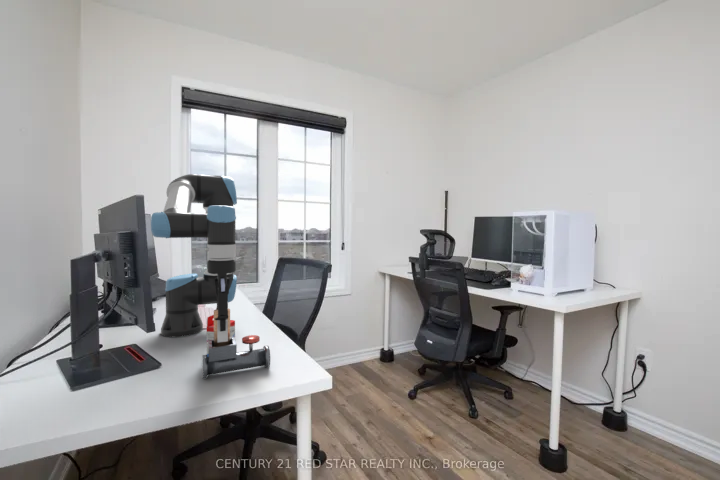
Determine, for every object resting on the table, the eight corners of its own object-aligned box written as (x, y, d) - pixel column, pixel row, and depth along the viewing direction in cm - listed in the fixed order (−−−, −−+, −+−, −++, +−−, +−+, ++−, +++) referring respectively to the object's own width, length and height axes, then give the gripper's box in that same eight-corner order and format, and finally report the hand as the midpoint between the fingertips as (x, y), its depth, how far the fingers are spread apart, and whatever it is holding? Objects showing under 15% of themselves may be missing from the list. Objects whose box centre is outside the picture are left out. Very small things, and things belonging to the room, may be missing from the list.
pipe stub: (213, 349, 95) (213, 309, 94) (229, 347, 96) (229, 307, 96) (214, 354, 91) (213, 312, 90) (230, 352, 93) (230, 311, 92)
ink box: (220, 364, 101) (219, 318, 100) (206, 363, 102) (205, 317, 101) (235, 354, 109) (235, 311, 108) (222, 352, 110) (222, 310, 109)
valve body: (202, 383, 88) (202, 348, 88) (202, 372, 95) (202, 340, 94) (270, 371, 96) (270, 339, 96) (266, 361, 103) (266, 332, 102)
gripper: (207, 256, 99) (207, 331, 100) (207, 262, 83) (208, 351, 84) (233, 256, 102) (233, 328, 103) (238, 261, 86) (238, 346, 87)
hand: (222, 338), depth 93 cm, fingers closed on pipe stub, 4 cm apart
